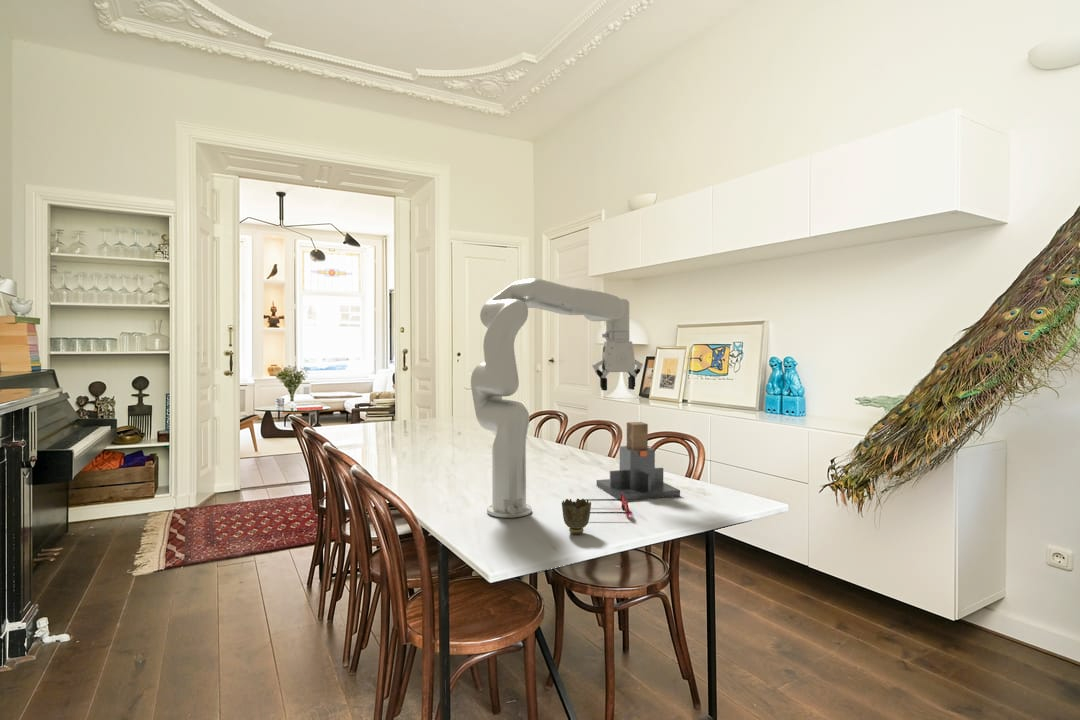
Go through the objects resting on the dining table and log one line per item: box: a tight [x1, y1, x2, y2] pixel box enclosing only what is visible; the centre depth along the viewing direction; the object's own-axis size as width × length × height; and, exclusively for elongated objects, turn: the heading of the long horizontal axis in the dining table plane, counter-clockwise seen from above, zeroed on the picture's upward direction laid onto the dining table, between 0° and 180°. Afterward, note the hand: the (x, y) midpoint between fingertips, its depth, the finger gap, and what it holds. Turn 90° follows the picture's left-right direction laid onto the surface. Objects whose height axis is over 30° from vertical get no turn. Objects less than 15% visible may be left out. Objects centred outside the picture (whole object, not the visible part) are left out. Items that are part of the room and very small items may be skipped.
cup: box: [561, 498, 592, 536], centre depth 151 cm, size 8×7×8 cm
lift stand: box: [596, 445, 681, 502], centre depth 194 cm, size 20×20×14 cm
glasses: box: [583, 493, 633, 519], centre depth 169 cm, size 14×16×5 cm
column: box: [626, 421, 649, 450], centre depth 194 cm, size 5×5×19 cm
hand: (617, 389), depth 195 cm, fingers open, 9 cm apart
